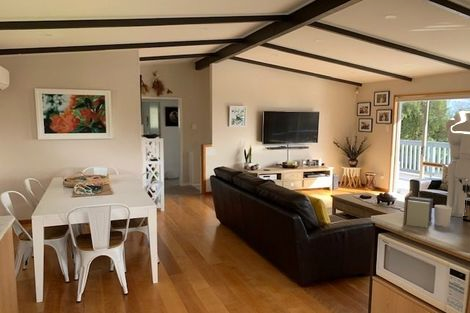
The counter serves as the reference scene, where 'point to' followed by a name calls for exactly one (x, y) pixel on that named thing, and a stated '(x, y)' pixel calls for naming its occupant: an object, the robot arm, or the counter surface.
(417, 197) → the bookend
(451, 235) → the counter surface
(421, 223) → the book row
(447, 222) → the white cup
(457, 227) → the counter surface
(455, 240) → the counter surface
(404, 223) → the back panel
